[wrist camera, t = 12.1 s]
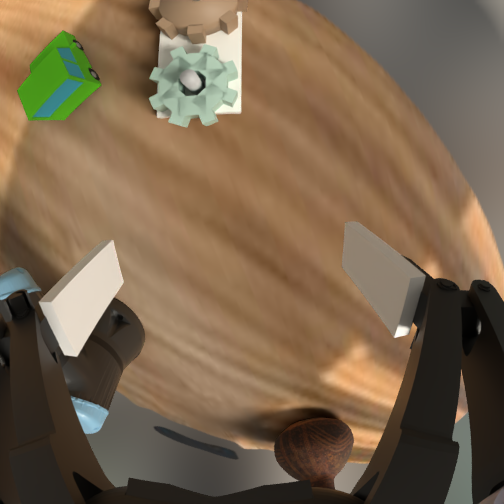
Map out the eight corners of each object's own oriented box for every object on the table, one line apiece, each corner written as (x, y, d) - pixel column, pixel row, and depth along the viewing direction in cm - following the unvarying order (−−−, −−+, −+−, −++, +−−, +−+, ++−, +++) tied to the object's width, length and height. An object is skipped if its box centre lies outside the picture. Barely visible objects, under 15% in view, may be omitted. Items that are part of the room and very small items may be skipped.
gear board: (156, 119, 32) (132, 114, 24) (164, -9, 23) (148, -37, 15) (246, 113, 33) (248, 105, 25) (247, -16, 24) (249, -48, 16)
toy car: (82, 31, 24) (49, 14, 15) (110, 81, 29) (75, 69, 20) (40, 72, 26) (3, 66, 17) (64, 124, 31) (24, 125, 22)
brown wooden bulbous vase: (260, 441, 65) (267, 528, 38) (290, 405, 57) (308, 515, 30) (323, 443, 69) (340, 519, 41) (360, 408, 61) (391, 497, 33)
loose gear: (158, 130, 31) (148, 129, 28) (159, 58, 27) (150, 50, 23) (237, 125, 32) (237, 123, 28) (238, 52, 28) (238, 42, 24)
